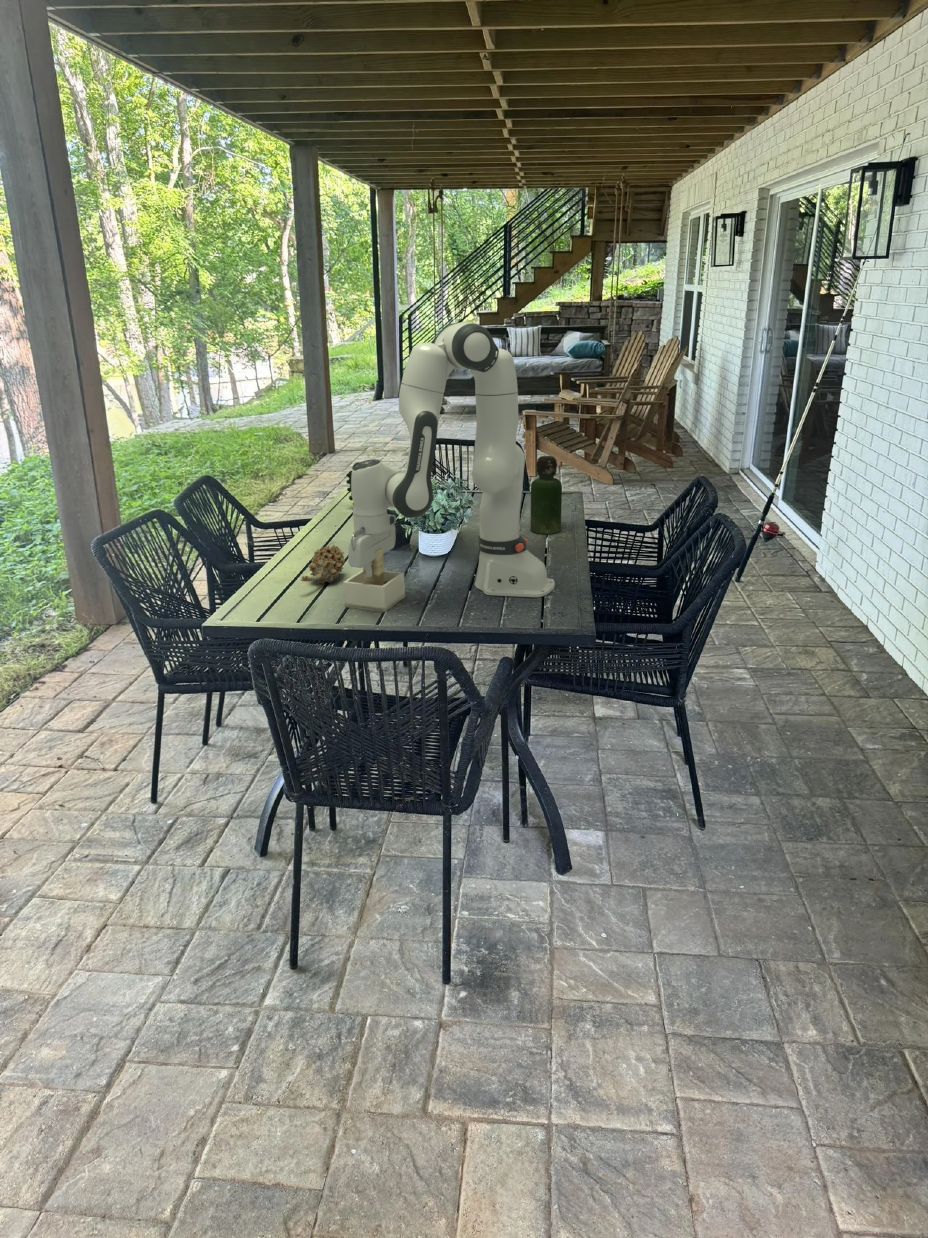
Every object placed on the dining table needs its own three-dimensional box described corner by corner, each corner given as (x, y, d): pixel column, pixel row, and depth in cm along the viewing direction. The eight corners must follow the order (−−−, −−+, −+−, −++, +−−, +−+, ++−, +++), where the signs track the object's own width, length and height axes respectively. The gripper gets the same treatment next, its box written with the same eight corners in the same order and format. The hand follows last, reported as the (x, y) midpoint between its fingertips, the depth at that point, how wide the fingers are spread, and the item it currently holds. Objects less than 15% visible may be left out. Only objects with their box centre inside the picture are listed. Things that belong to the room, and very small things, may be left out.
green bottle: (524, 530, 294) (524, 457, 285) (545, 524, 301) (546, 453, 291) (545, 536, 287) (547, 461, 278) (567, 530, 293) (569, 457, 284)
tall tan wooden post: (385, 594, 232) (382, 547, 227) (379, 597, 230) (377, 551, 225) (370, 592, 234) (367, 546, 229) (364, 595, 231) (361, 549, 226)
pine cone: (321, 571, 258) (318, 539, 254) (352, 573, 256) (349, 540, 252) (292, 596, 238) (288, 562, 234) (324, 598, 236) (321, 564, 232)
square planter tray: (405, 597, 235) (404, 572, 233) (385, 612, 225) (383, 587, 223) (366, 592, 240) (364, 568, 237) (344, 607, 229) (343, 582, 227)
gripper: (362, 534, 214) (365, 587, 219) (398, 514, 232) (401, 563, 237) (340, 532, 216) (344, 584, 222) (377, 512, 234) (380, 561, 239)
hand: (373, 573), depth 229 cm, fingers closed on tall tan wooden post, 3 cm apart
